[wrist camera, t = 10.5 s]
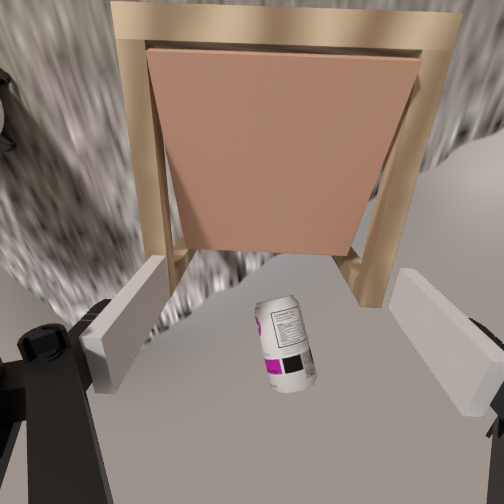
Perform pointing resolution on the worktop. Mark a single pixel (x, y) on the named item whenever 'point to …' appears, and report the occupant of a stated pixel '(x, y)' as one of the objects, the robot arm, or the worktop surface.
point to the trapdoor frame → (284, 41)
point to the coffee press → (3, 141)
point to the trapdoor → (276, 143)
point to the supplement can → (285, 345)
